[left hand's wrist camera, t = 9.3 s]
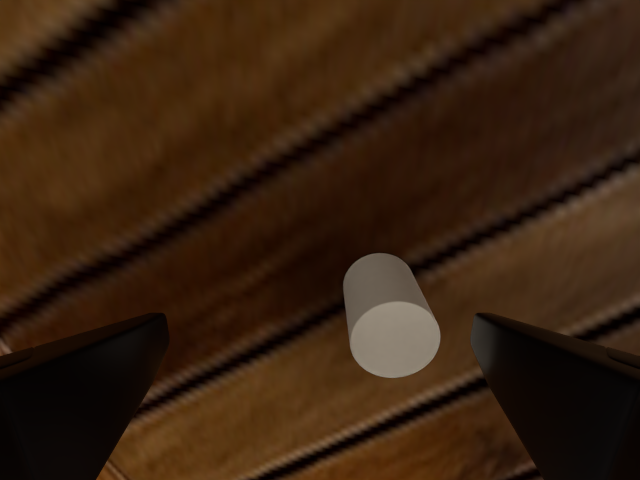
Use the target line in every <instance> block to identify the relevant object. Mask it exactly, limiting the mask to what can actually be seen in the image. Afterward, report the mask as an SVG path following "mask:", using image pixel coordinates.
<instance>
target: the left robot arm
mask: <svg viewBox="0 0 640 480" xmlns="http://www.w3.org/2000/svg"><path fill="white" fill-rule="evenodd" d="M168 346H169V331H168V325H167V319H166V316H165V314H164V313H148V314H145V315H142V316H138V317H135V318H131V319H128V320H125V321H121V322H118V323H114V324H111V325H108V326H104V327H101V328H97V329H94V330H91V331H87V332H84V333H80V334H77V335H74V336H70V337H67V338H63V339H60V340H57V341H53V342H50V343H46V344H43V345H40V346H36V347H35V348H33V347H31V348H28V349H24V350H21V351H17V352H14V353H10V354H7V355H3V356H0V480H96V479H97V477H98V475H99V474H100V472H101V470H102V469H103V467H104V465H105V463H106V462H107V460H108V458H109V457H110V455H111V453H112V452H113V450H114V448H115V446H116V445H117V443H118V441H119V440H120V438H121V436H122V435H123V433H124V431H125V429H126V428H127V426H128V424H129V423H130V421H131V419H132V418H133V416H134V414H135V412H136V411H137V409H138V407H139V406H140V404H141V402H142V401H143V399H144V397H145V395H146V394H147V392H148V390H149V389H150V387H151V385H152V383H153V381H154V379H155V377H156V374H157V372H158V370H159V367H160V365H161V363H162V360H163V358H164V356H165V353H166V351H167V349H168ZM471 346H472V349H473V351H474V353H475V356H476V358H477V360H478V363H479V365H480V367H481V370H482V372H483V374H484V377H485V379H486V381H487V383H488V385H489V387H490V389H491V390H492V392H493V394H494V395H495V397H496V399H497V401H498V402H499V404H500V406H501V407H502V409H503V411H504V412H505V414H506V416H507V418H508V419H509V421H510V423H511V424H512V426H513V428H514V429H515V431H516V433H517V435H518V436H519V438H520V440H521V441H522V443H523V445H524V446H525V448H526V450H527V452H528V453H529V455H530V457H531V458H532V460H533V462H534V463H535V465H536V467H537V469H538V470H539V472H540V474H541V475H542V477H543V479H544V480H640V356H637V355H633V354H630V353H626V352H623V351H619V350H616V349H612V348H609V347H607V348H605V347H604V346H600V345H597V344H594V343H590V342H587V341H583V340H580V339H577V338H573V337H570V336H566V335H563V334H560V333H556V332H553V331H549V330H546V329H543V328H539V327H536V326H532V325H529V324H526V323H522V322H519V321H515V320H512V319H509V318H505V317H502V316H498V315H495V314H492V313H476V314H475V316H474V319H473V325H472V331H471Z"/></svg>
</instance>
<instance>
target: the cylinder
mask: <svg viewBox="0 0 640 480" xmlns="http://www.w3.org/2000/svg"><path fill="white" fill-rule="evenodd" d="M343 291H344V299H345V308H346V316H347V325H348V333H349V341H350V348H351V352H352V354H353V357H354V358H355V360H356V361H357V363H358V364H359V365H360V366H361V367H362V368H364V369H365V370H366V371H368V372H370V373H372V374H374V375H377V376H381V377H387V378H397V377H404V376H407V375H411V374H413V373H415V372H417V371H419V370H421V369H422V368H424V367H425V366H426V365H427V364H428V363H429V362H430V361H431V360H432V359H433V357H434V356H435V354H436V352H437V350H438V347H439V344H440V329H439V326H438V324H437V321H436V319H435V317H434V315H433V313H432V311H431V309H430V308H429V306H428V304H427V302H426V300H425V298H424V296H423V294H422V292H421V290H420V288H419V286H418V284H417V282H416V280H415V278H414V276H413V274H412V272H411V270H410V268H409V267H408V265H407V264H406V263H405V262H404V261H403V260H401V259H400V258H398V257H396V256H394V255H390V254H386V253H375V254H370V255H367V256H364V257H362V258H360V259H359V260H357V261H356V262H355V263H354V264H353V265H352V266H351V267H350V268H349V269H348V271H347V273H346V275H345V278H344V282H343Z"/></svg>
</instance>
